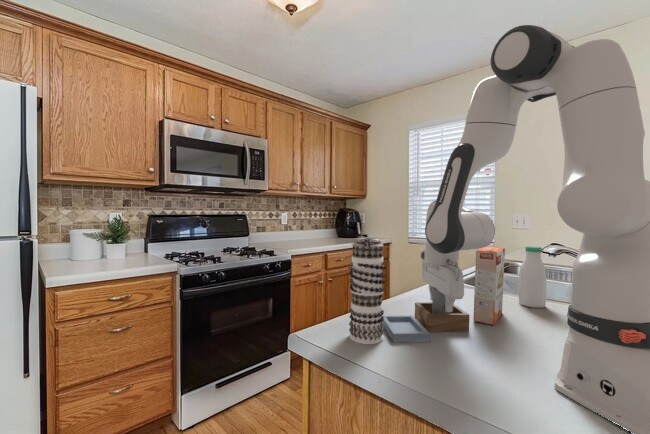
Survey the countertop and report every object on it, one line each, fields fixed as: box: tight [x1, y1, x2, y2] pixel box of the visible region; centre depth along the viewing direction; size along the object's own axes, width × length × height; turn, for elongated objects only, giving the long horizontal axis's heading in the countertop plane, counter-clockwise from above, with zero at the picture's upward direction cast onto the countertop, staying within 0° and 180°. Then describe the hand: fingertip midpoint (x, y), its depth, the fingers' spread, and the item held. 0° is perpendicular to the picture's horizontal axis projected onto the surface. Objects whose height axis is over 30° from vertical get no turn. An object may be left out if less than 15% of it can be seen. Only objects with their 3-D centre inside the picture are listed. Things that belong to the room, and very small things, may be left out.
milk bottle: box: [518, 245, 547, 309], centre depth 109 cm, size 8×8×20 cm
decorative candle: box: [348, 237, 387, 345], centre depth 80 cm, size 9×9×25 cm
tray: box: [382, 314, 431, 343], centre depth 85 cm, size 13×9×2 cm
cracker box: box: [473, 245, 506, 326], centre depth 96 cm, size 14×6×21 cm, turn 143°
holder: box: [414, 301, 470, 333], centre depth 90 cm, size 11×11×4 cm
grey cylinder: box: [431, 287, 449, 314], centre depth 90 cm, size 4×4×10 cm
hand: (440, 305), depth 90 cm, fingers open, 8 cm apart
